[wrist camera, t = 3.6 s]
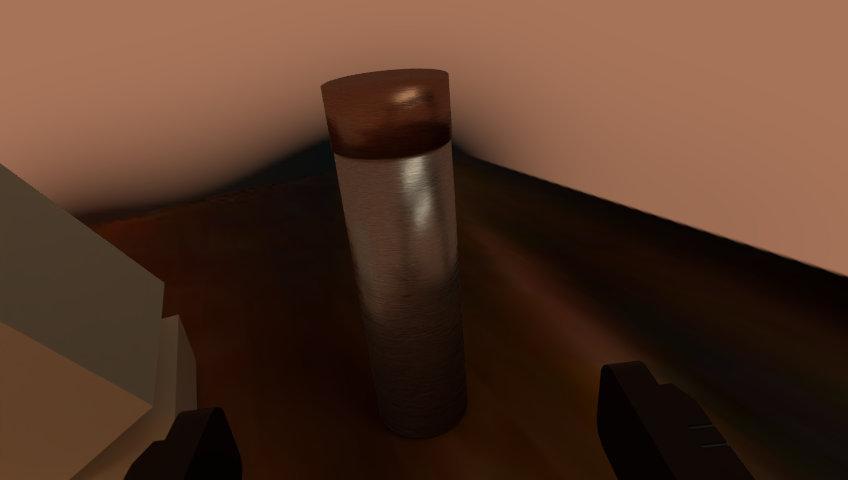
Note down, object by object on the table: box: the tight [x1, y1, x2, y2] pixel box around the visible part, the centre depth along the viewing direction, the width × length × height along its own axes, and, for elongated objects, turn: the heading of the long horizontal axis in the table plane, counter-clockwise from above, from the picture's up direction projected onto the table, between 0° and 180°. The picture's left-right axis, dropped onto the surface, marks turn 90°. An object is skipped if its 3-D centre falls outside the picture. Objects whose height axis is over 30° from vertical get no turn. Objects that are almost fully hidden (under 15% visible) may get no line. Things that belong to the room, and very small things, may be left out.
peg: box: [321, 69, 468, 438], centre depth 19 cm, size 4×4×14 cm
